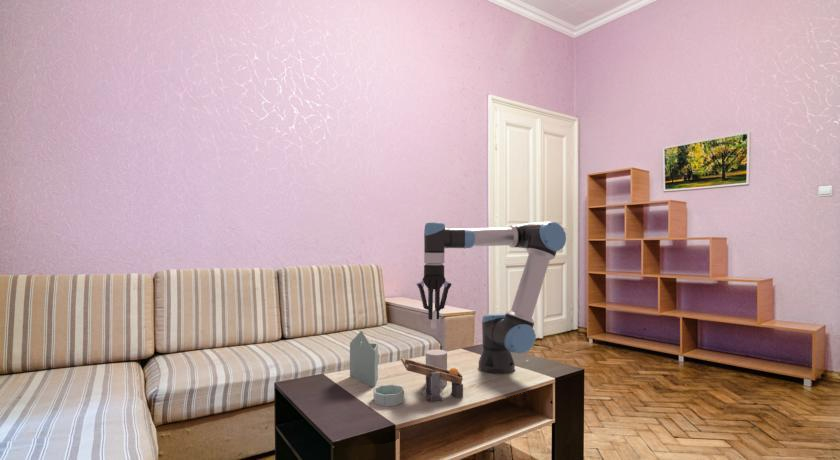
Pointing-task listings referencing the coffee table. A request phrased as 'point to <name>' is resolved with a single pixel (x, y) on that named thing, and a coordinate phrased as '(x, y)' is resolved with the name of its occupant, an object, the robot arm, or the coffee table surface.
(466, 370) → the coffee table surface
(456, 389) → the block
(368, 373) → the planter
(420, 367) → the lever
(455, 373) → the ball
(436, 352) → the pale pink cylinder
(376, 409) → the coffee table surface
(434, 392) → the fulcrum
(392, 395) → the bowl
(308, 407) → the coffee table surface
